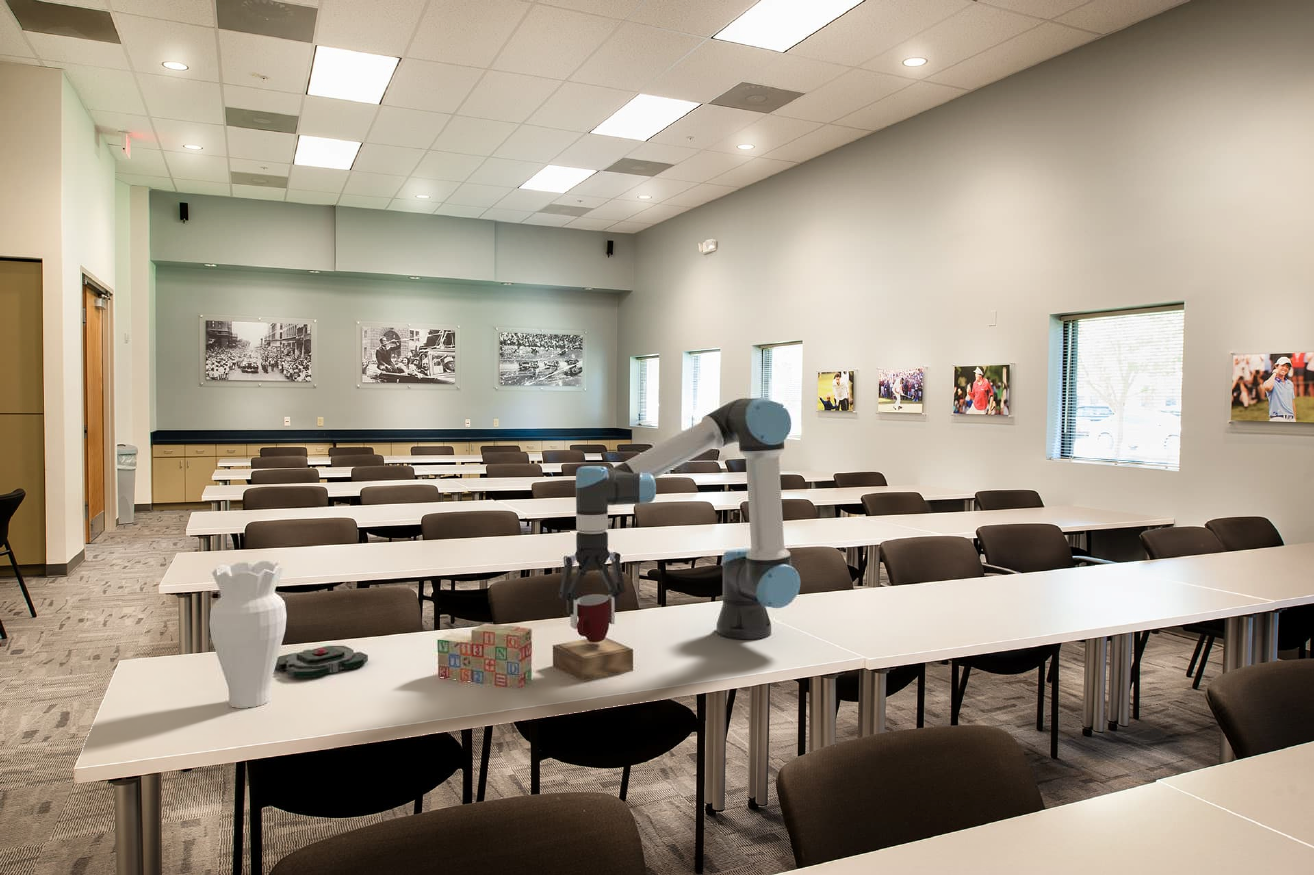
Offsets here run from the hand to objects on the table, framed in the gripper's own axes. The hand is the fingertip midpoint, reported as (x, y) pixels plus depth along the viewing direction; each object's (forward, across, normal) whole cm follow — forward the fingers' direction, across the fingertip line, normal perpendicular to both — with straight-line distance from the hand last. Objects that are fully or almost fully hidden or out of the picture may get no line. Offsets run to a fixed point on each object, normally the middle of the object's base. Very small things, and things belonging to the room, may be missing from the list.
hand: (592, 625), depth 202 cm
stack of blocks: (+11, +26, -3) cm, 28 cm away
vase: (+10, +74, -9) cm, 75 cm away
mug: (+4, 0, 0) cm, 4 cm away
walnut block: (+10, 0, 0) cm, 10 cm away
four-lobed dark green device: (+11, +59, -29) cm, 67 cm away
